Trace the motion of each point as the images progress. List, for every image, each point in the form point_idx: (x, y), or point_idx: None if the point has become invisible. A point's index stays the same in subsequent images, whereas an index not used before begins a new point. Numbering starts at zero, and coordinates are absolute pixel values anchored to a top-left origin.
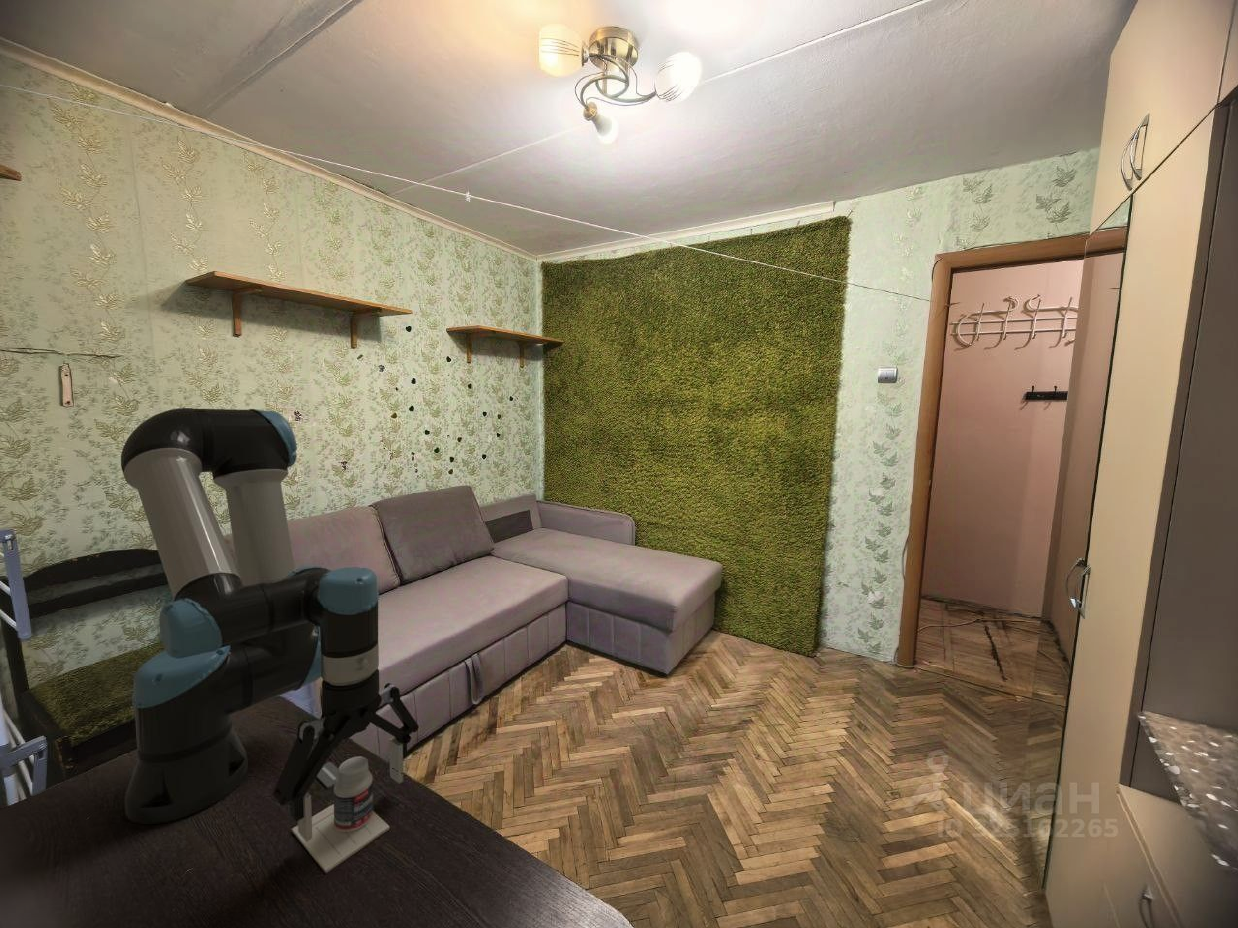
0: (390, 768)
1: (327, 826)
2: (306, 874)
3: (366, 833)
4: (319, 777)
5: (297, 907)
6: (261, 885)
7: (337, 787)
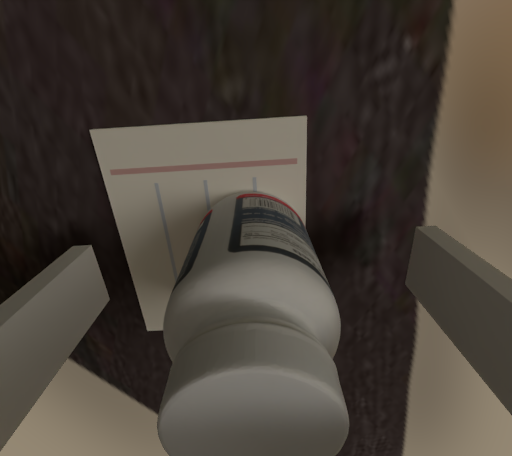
0: (437, 249)
1: (184, 208)
2: (113, 300)
3: None
4: None
5: (89, 353)
6: (18, 259)
7: (170, 351)
